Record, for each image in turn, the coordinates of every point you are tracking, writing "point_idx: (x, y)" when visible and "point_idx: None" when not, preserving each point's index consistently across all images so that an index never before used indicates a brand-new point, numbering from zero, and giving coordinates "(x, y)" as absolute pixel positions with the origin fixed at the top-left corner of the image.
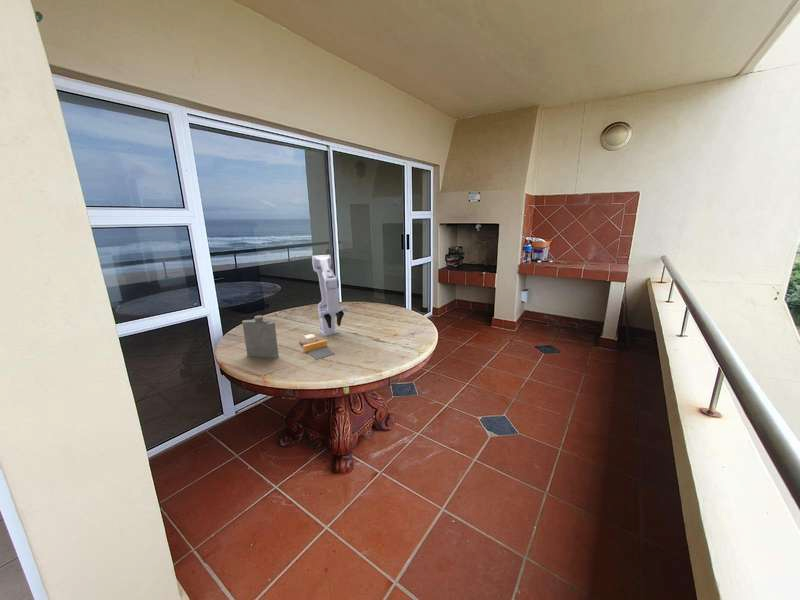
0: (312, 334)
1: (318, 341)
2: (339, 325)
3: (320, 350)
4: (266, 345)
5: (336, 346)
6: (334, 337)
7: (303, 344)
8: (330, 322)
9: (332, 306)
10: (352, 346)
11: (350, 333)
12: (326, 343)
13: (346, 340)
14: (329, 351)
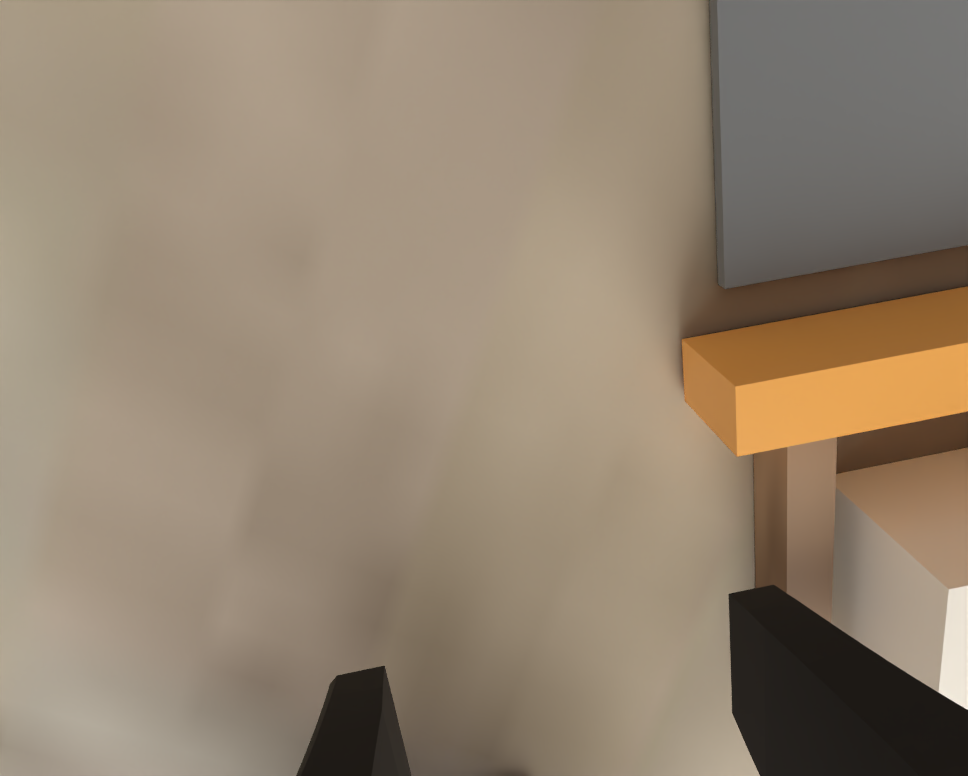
0: None
1: (913, 415)
2: (367, 682)
3: (904, 154)
4: None
5: (508, 235)
6: (401, 679)
7: None
8: (935, 752)
9: None
10: (138, 32)
11: (28, 750)
12: (718, 357)
13: (201, 451)
14: None
